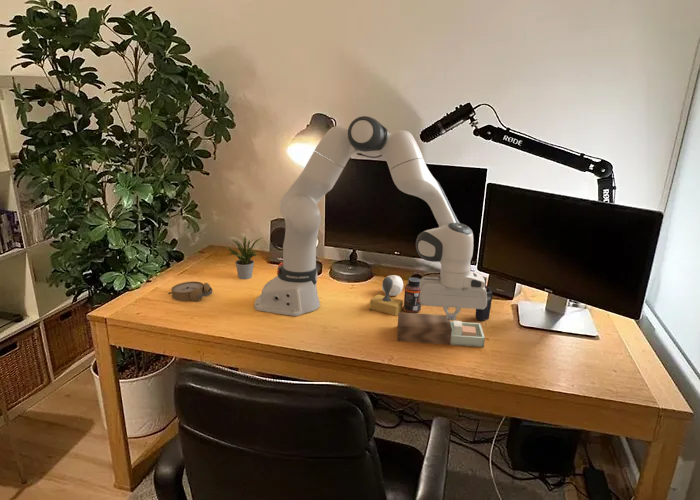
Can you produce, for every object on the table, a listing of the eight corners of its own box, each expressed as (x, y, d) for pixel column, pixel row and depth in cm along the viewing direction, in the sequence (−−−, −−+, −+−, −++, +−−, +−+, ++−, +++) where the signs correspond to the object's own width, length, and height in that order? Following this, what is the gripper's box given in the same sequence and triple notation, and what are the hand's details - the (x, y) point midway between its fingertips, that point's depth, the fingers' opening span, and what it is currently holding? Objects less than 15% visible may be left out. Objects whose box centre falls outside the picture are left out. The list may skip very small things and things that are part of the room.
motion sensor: (386, 289, 203) (387, 270, 200) (405, 293, 200) (407, 273, 197) (378, 296, 196) (379, 276, 193) (397, 301, 193) (399, 280, 190)
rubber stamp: (402, 309, 186) (404, 277, 182) (395, 316, 181) (397, 283, 177) (376, 303, 190) (378, 271, 186) (369, 309, 185) (370, 277, 182)
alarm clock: (183, 280, 198) (217, 279, 192) (186, 292, 199) (220, 292, 194) (163, 291, 188) (199, 290, 182) (166, 304, 189) (202, 304, 183)
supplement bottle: (420, 314, 183) (422, 283, 179) (402, 312, 184) (404, 281, 180) (421, 307, 188) (423, 277, 184) (404, 305, 189) (406, 275, 186)
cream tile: (454, 326, 165) (462, 326, 164) (453, 320, 168) (461, 321, 168) (452, 337, 166) (461, 338, 166) (452, 332, 170) (460, 332, 169)
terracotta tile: (476, 332, 164) (475, 340, 165) (475, 327, 168) (474, 334, 169) (462, 331, 165) (461, 338, 165) (462, 325, 168) (461, 332, 169)
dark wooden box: (397, 341, 164) (398, 326, 162) (397, 326, 173) (398, 312, 172) (450, 344, 163) (451, 329, 161) (447, 329, 172) (448, 315, 171)
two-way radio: (479, 322, 178) (484, 280, 173) (470, 317, 182) (474, 275, 177) (491, 318, 181) (496, 277, 176) (481, 313, 185) (486, 273, 180)
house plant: (253, 267, 221) (251, 228, 215) (272, 276, 211) (271, 237, 206) (222, 274, 211) (220, 235, 206) (240, 285, 202) (239, 243, 197)
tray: (450, 344, 163) (451, 335, 162) (447, 329, 172) (448, 321, 171) (483, 347, 162) (484, 338, 161) (479, 331, 172) (480, 323, 171)
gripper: (420, 279, 159) (417, 321, 163) (490, 283, 158) (485, 325, 162) (419, 271, 165) (416, 312, 169) (487, 275, 164) (482, 316, 168)
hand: (450, 319), depth 166 cm, fingers closed
